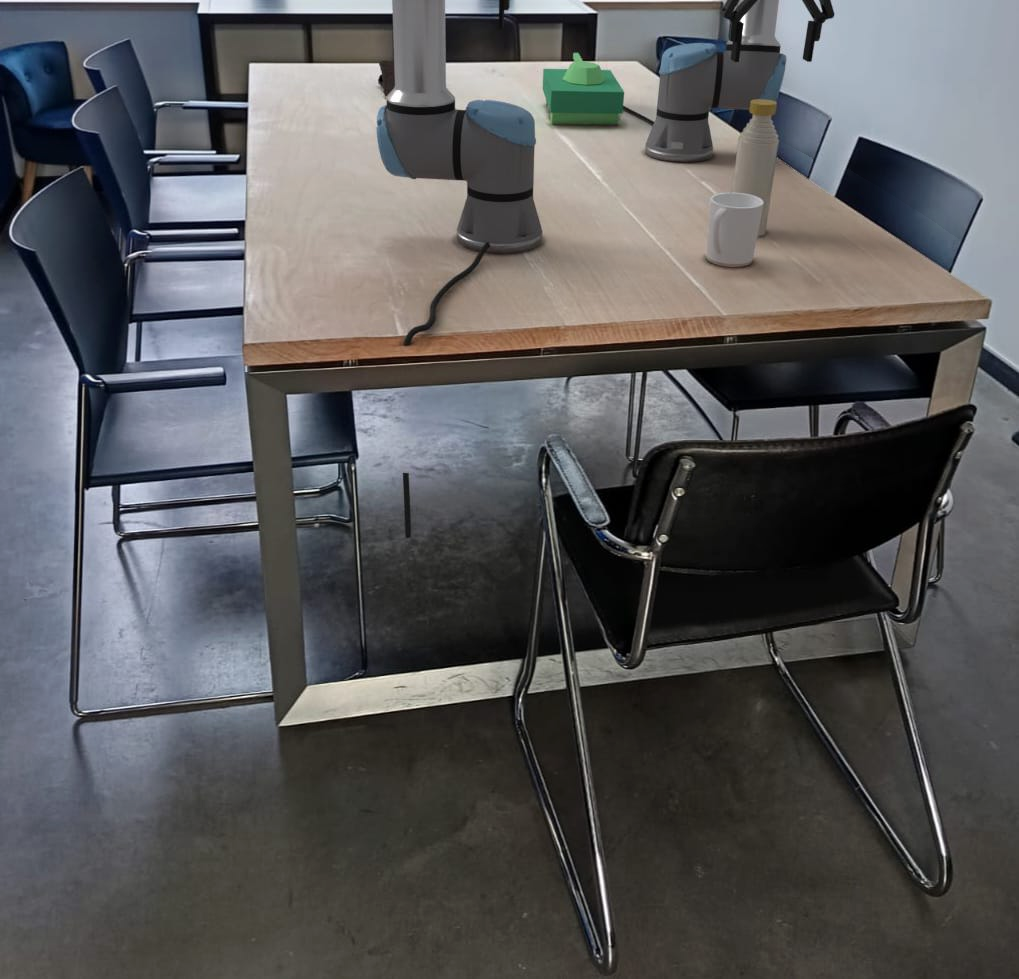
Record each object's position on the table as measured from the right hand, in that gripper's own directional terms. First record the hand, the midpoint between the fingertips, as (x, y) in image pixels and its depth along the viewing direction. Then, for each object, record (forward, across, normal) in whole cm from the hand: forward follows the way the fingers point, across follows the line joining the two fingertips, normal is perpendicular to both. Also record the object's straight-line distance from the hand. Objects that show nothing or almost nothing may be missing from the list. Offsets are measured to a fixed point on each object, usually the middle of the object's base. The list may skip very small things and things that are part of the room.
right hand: (770, 60), depth 199 cm
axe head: (+29, -63, +111) cm, 131 cm away
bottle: (+28, -4, -12) cm, 30 cm away
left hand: (0, -52, +37) cm, 64 cm away
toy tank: (+29, -19, +85) cm, 92 cm away
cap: (+5, -4, -11) cm, 13 cm away
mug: (+28, -13, -28) cm, 41 cm away
